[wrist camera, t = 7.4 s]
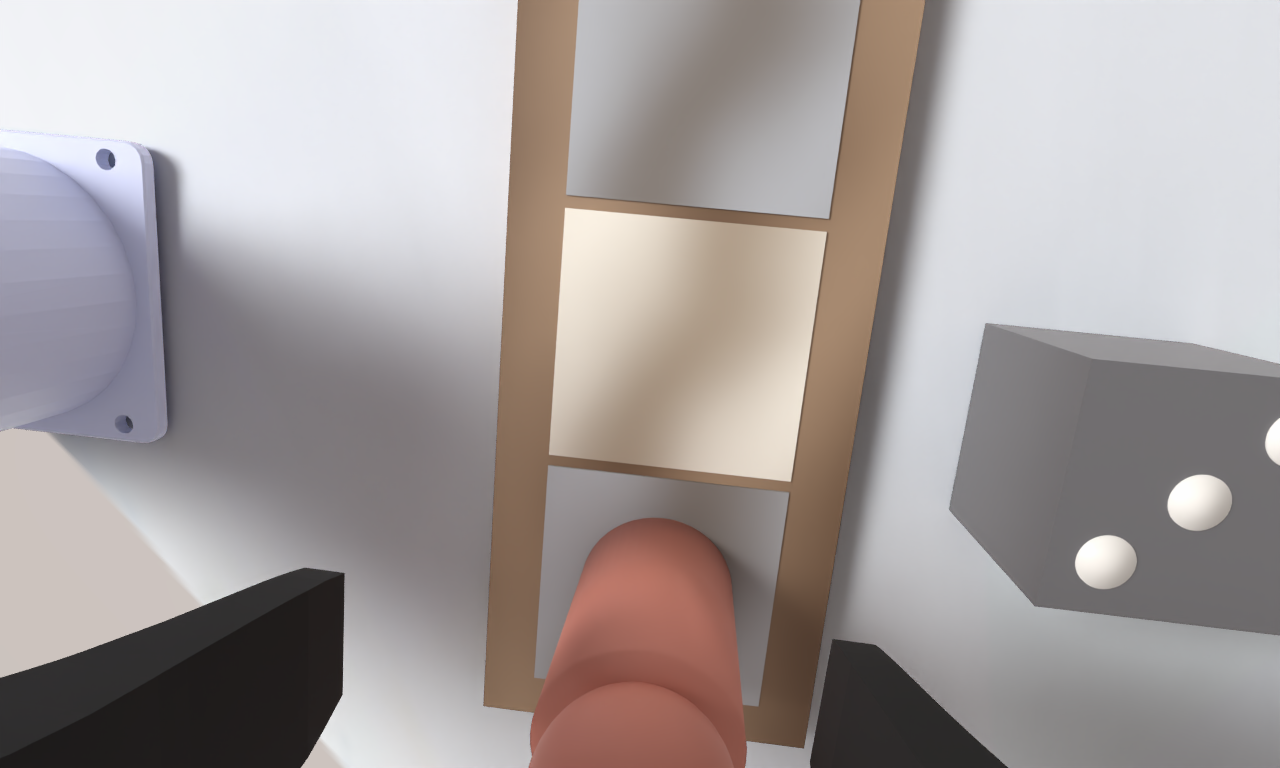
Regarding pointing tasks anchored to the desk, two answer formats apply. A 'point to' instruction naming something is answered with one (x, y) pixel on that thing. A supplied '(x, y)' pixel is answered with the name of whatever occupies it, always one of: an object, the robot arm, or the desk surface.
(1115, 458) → the dark grey block
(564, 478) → the board
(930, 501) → the desk surface
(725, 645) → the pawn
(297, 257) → the desk surface
